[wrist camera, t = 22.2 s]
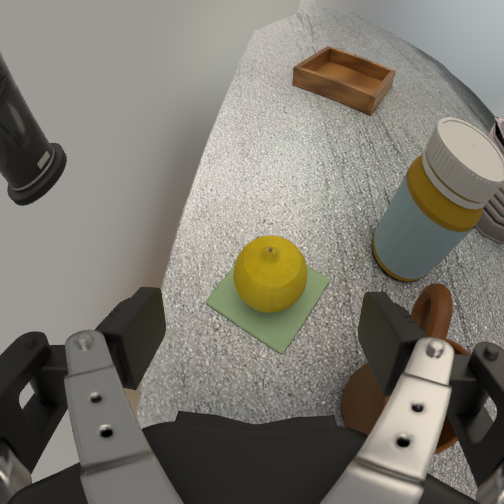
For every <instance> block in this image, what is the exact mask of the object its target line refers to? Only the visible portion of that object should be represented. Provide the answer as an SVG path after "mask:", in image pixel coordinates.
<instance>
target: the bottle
mask: <svg viewBox="0 0 504 504" xmlns="http://www.w3.org/2000/svg"><path fill="white" fill-rule="evenodd" d="M503 183H504V158H503V156H502V154H501V152H500V151H499V149H498V148H497V147H496V145H495V144H494V143H493V142H492V141H491V140H490V139H489V138H488V137H487V136H486V135H485V134H484V133H482V132H481V131H480V130H479V129H477V128H476V127H474V126H473V125H471V124H469V123H467V122H465V121H463V120H460V119H457V118H452V117H446V118H442V119H441V120H440V121H439V122H438V123H437V124H436V126H435V128H434V131H433V133H432V135H431V137H430V139H429V141H428V144H427V147H426V149H425V151H424V153H423V154H422V155H421V156H419V157H418V158H417V159H416V160H415V161H414V162H412V164H411V166H410V168H409V169H408V171H407V173H406V175H405V177H404V179H403V181H402V183H401V185H400V187H399V189H398V191H397V192H396V194H395V196H394V198H393V200H392V202H391V204H390V205H389V207H388V209H387V211H386V213H385V215H384V216H383V218H382V220H381V222H380V223H379V225H378V227H377V229H376V231H375V233H374V236H373V244H372V247H373V251H374V255H375V258H376V259H377V261H378V263H379V264H380V266H381V267H382V268H383V269H384V270H385V271H386V272H387V273H388V274H389V275H391V276H393V277H394V278H396V279H399V280H402V281H416V280H419V279H420V278H422V277H424V276H425V275H426V274H427V273H428V272H430V271H431V270H432V269H433V268H434V267H435V266H436V265H437V264H438V263H439V262H440V261H441V260H442V259H443V258H444V257H445V256H446V255H447V254H448V253H449V252H450V251H451V250H452V249H453V248H454V247H455V246H456V245H457V244H458V243H459V242H460V241H461V240H462V239H463V238H464V237H465V236H466V235H467V234H468V233H469V232H470V231H471V229H472V228H473V227H474V226H475V225H476V223H477V222H478V221H479V219H480V217H481V215H482V212H483V209H484V205H485V204H486V203H487V202H488V201H489V199H491V198H492V197H493V195H494V194H495V193H496V192H497V190H498V189H499V188H500V187H501V185H502V184H503Z"/></svg>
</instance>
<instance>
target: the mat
mask: <svg viewBox="0 0 504 504" xmlns="http://www.w3.org/2000/svg"><path fill="white" fill-rule="evenodd" d="M257 238H259V237H257ZM257 238H256V239H257ZM306 266H307V265H306ZM234 267H235V266H234ZM234 267H233V268H232V269H231V271H230V272H229V273H228V274H227V276H226V277H225V278H224V279H223V281H222V282H221V283H220V284H219V286H218V287H217V288H216V290H215V291H214V292H213V293H212V295H211V296H210V297H209V298H208V300H207V301H206V304H208V305H209V306H210V307H212V308H213V309H215V310H216V311H217V312H219V313H220V314H222V315H223V316H225V317H226V318H227V319H229V320H230V321H232V322H233V323H235V324H236V325H238V326H239V327H241V328H242V329H243V330H245V331H246V332H248V333H249V334H251V335H252V336H254V337H255V338H257V339H258V340H260V341H261V342H263V343H265V344H266V345H268V346H269V347H271V348H272V349H274V350H275V351H277V352H278V353H280V354H283V353H284V352H285V350H286V349H287V347H288V346H289V344H290V343H291V341H292V340H293V338H294V337H295V335H296V334H297V332H298V331H299V329H300V328H301V326H302V325H303V323H304V322H305V320H306V319H307V317H308V315H309V314H310V312H311V311H312V309H313V308H314V306H315V304H316V303H317V301H318V300H319V298H320V296H321V295H322V293H323V292H324V290H325V288H326V287H327V285H328V283H329V282H330V279H329V278H327V277H326V276H324V275H322V274H321V273H319V272H317V271H316V270H314V269H312V268H311V267H309V266H307V270H308V276H307V282H306V287H305V291H304V292H303V294H302V296H301V297H300V299H299V300H298V301H297V302H296V303H294V304H293V305H292V306H291V307H290V308H287V309H285V310H283V311H280V312H273V313H266V312H261V311H257V310H255V309H254V308H252V307H250V306H248V305H247V304H246V303H245V302H244V301H243V300H242V299H241V298H240V296H239V294H238V292H237V290H236V288H235V286H234V279H233V272H234Z"/></svg>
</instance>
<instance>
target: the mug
mask: <svg viewBox="0 0 504 504" xmlns="http://www.w3.org/2000/svg"><path fill="white" fill-rule="evenodd" d="M411 317H412V318H413V319H414V320H415V323H417V324H418V325H419V326H420V328H421V329H422V330H423V331H424V333H425V334H426V335H427V336H428V337H433V338H438V339H441V340H444V341H445V342H447V343H449V344H450V345H451V346H452V348H453V349H454V354H461V355H470V354H469V353H468V352H467V351H466V350H465V349H464V348H463V347H462V346H460V345H459V344H458V343H456V342H454V341H452V340H449V339H446V336H447V332H448V329H449V325H450V321H451V317H452V298H451V293H450V291H449V290H448V289H447V288H446V287H445V286H444V285H442V284H431V285H429V286H428V287H426V288H425V289H424V290H423V291H422V293H421V294H420V296H419V297H418V299H417V301H416V302H415V304H414V307H413V309H412V312H411ZM389 398H390V396H386V397H383V395H382V393H381V390H380V388H379V386H378V383H377V381H376V379H375V376H374V374H373V372H372V369H371V367H370V365H369V363H367V364H365V365H364V366H362V367H361V368H360V369H358V370H357V371H356V372H355V373H354V375H353V376H352V377H351V379H350V380H349V382H348V383H347V385H346V387H345V390H344V393H343V397H342V414H343V418H344V421H345V423H346V425H347V427H348V428H350V429H354V430H357V431H360V432H362V433H365V434H367V435H369V434H370V433H371V431H372V429H373V428H374V426H375V424H376V422H377V421H378V419H379V417H380V415H381V413H382V412H383V410H384V408H385V406H386V404H387V402H388V400H389ZM457 441H458V439H457V436H456V434H455V432H454V430H453V428H452V425H451V423H450V421H449V419H448V417H447V415H446V416H445V419H444V423H443V427H442V430H441V434H440V437H439V440H438V443H437V446H436V449H435V452H434V454H437V453H440V452H442V451H444V450H446V449H448V448H449V447H450V446H452V445H453V444H455V443H456V442H457Z"/></svg>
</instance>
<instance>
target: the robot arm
mask: <svg viewBox="0 0 504 504" xmlns="http://www.w3.org/2000/svg"><path fill="white" fill-rule="evenodd" d="M55 158H56V152H55V150H54V149H53V147H52V146H51V145H50V143H49V142H48V140H47V138H46V137H45V135H44V133H43V132H42V130H41V128H40V127H39V125H38V123H37V121H36V120H35V118H34V116H33V115H32V113H31V111H30V109H29V107H28V105H27V104H26V102H25V100H24V98H23V96H22V94H21V93H20V91H19V89H18V87H17V85H16V83H15V81H14V79H13V77H12V75H11V73H10V71H9V69H8V67H7V65H6V63H5V61H4V59H3V57H2V55H1V52H0V173H1V174H2V175H3V177H4V178H5V179H6V180H7V182H8V183H9V184H10V186H11V187H12V189H13V190H14V191H15V192H24V191H27V190H29V189H30V188H32V187H33V186H35V185H36V184H37V183H38V182H39V181H41V180H42V179H43V178H44V176H45V175H46V174H47V173H48V172H49V170H50V169H51V167H52V165H53V163H54V161H55ZM165 332H166V321H165V314H164V307H163V300H162V293H161V290H160V288H153V287H141V288H139V290H138V291H137V292H136V293H135V294H134V295H133V296H132V297H131V298H128V299H126V300H124V301H122V302H120V303H119V304H118V305H117V306H116V307H115V308H114V309H113V311H111V313H109V315H108V316H107V317H106V318H105V319H104V320H103V321H102V322H101V323H100V324H99V325H98V327H97V328H96V329H95V330H84V331H80V332H77V333H75V334H73V335H71V336H70V337H69V338H68V339H67V340H66V343H65V345H49V343H48V340H47V337H46V335H45V334H44V333H42V332H29V333H26V334H23V335H21V336H20V337H18V338H17V339H16V340H15V341H14V342H13V343H12V344H11V345H10V346H9V347H8V348H7V349H6V350H5V351H4V352H3V353H2V354H1V355H0V504H504V350H503V349H502V348H501V347H499V346H498V345H496V344H493V343H490V342H480V343H478V344H476V345H475V347H474V350H473V352H472V355H461V354H454V349H453V348H452V346H451V345H450V344H449V343H447V342H445V341H444V340H441V339H438V338H433V337H428V336H427V335H426V334H425V333H424V331H423V330H422V329H421V328H420V326H419V325H418V324H417V323H415V320H414V319H413V318H412V317H411V315H410V314H409V313H408V312H407V310H406V309H405V308H403V307H401V306H400V305H398V304H396V303H393V302H392V300H391V299H390V298H389V297H388V295H387V294H386V293H385V292H366V293H365V295H364V298H363V304H362V310H361V315H360V321H359V326H358V339H359V343H360V345H361V347H362V349H363V351H364V354H365V356H366V358H367V360H368V363H369V365H370V367H371V369H372V372H373V374H374V376H375V379H376V381H377V383H378V386H379V388H380V390H381V393H382V395H383V397H386V396H390V398H389V400H388V402H387V404H386V406H385V408H384V410H383V412H382V413H381V415H380V417H379V419H378V421H377V422H376V424H375V426H374V428H373V429H372V431H371V433H370V434H369V435H367V434H365V433H362V432H360V431H357V430H354V429H350V428H346V427H340V426H337V424H336V420H335V415H331V416H315V417H295V418H290V419H285V420H280V421H275V422H270V423H264V424H250V423H246V422H241V421H237V420H233V419H229V418H226V417H222V416H218V415H212V414H202V413H192V412H184V411H178V414H177V417H176V420H175V421H172V422H164V423H159V424H155V425H151V426H148V427H145V428H143V429H141V427H140V425H139V423H138V421H137V419H136V417H135V414H134V412H133V410H132V408H131V405H130V403H129V401H128V398H127V396H126V393H125V391H124V388H128V389H133V390H136V389H137V387H138V385H139V383H140V382H141V380H142V378H143V376H144V374H145V372H146V370H147V368H148V366H149V364H150V363H151V361H152V359H153V357H154V355H155V353H156V351H157V349H158V348H159V346H160V344H161V342H162V340H163V338H164V336H165ZM28 382H30V385H31V387H32V388H33V390H34V392H35V393H34V394H33V396H32V397H31V398H30V400H29V401H28V402H27V404H26V405H25V407H24V408H23V409H22V408H21V406H20V404H19V395H20V392H21V391H22V390H23V389H24V387H25V386H26V385H27V383H28ZM489 396H490V397H491V399H492V400H493V402H494V403H495V405H496V407H497V417H496V420H495V421H494V423H493V421H492V419H491V418H490V416H489V414H488V412H487V411H486V409H485V407H484V406H483V405H484V404H485V402H486V400H487V398H488V397H489ZM67 409H68V410H69V415H70V421H71V425H72V431H73V435H74V440H75V444H76V448H77V452H78V456H79V460H80V462H79V463H77V464H75V465H73V466H71V467H68V468H66V469H64V470H62V471H60V472H58V473H56V474H53V475H51V476H49V477H47V478H44V479H42V480H40V481H37V482H35V483H33V484H32V478H31V474H32V472H33V470H34V468H35V466H36V464H37V462H38V460H39V458H40V457H41V455H42V453H43V451H44V449H45V447H46V445H47V443H48V442H49V440H50V438H51V436H52V435H53V433H54V431H55V429H56V428H57V426H58V424H59V422H60V421H61V419H62V417H63V416H64V414H65V412H66V410H67ZM446 415H447V417H448V419H449V421H450V423H451V425H452V428H453V430H454V432H455V434H456V436H457V439H458V441H459V443H460V445H461V448H462V450H463V452H464V455H465V457H466V459H467V462H468V464H469V467H470V469H471V472H472V474H473V477H474V479H475V482H476V484H477V487H478V490H477V493H476V500H474V499H472V498H470V497H468V496H467V495H465V494H463V493H461V492H459V491H457V490H456V489H454V488H452V487H450V486H449V485H447V484H445V483H443V482H442V481H440V480H438V479H437V478H435V477H433V476H432V475H430V474H428V473H427V472H428V469H429V466H430V464H431V461H432V458H433V455H434V452H435V449H436V446H437V443H438V440H439V437H440V434H441V430H442V427H443V423H444V419H445V416H446Z"/></svg>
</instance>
